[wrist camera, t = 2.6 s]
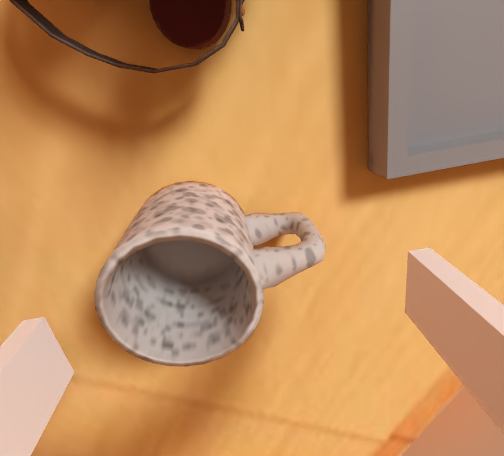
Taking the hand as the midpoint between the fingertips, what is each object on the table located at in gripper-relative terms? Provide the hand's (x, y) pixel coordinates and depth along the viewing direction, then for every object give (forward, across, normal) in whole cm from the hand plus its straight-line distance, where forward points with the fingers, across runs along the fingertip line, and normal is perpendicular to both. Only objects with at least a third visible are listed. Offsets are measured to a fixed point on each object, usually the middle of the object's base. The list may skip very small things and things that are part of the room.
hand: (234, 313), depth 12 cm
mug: (+8, +1, 0) cm, 8 cm away
